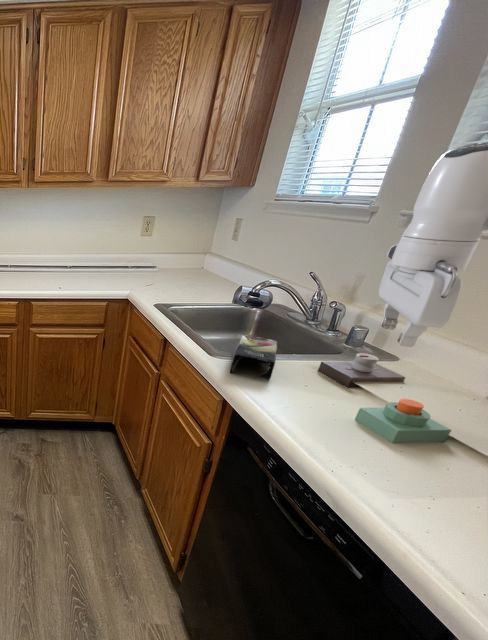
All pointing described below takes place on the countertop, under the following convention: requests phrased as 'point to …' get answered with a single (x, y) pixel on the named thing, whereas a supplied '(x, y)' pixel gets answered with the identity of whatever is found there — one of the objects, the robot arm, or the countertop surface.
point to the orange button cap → (410, 406)
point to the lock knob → (364, 362)
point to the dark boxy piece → (256, 352)
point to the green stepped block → (402, 425)
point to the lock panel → (356, 374)
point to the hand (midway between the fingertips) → (395, 336)
